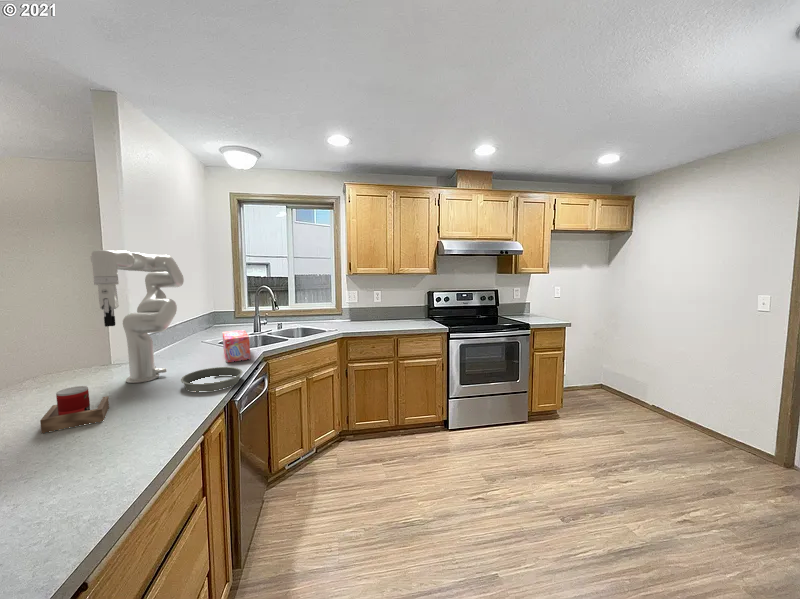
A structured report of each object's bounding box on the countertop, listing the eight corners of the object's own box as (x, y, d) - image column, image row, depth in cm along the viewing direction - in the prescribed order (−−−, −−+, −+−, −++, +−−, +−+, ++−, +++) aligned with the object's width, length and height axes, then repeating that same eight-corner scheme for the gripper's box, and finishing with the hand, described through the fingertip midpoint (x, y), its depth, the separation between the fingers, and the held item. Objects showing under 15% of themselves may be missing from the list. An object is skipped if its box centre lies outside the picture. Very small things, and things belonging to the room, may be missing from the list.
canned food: (92, 419, 118) (89, 389, 117) (60, 428, 112) (57, 396, 111) (89, 413, 123) (86, 384, 122) (58, 421, 117) (54, 390, 116)
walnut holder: (109, 407, 128) (108, 396, 128) (103, 421, 117) (102, 409, 116) (54, 417, 120) (52, 405, 119) (41, 433, 108) (40, 420, 108)
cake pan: (236, 391, 145) (236, 381, 145) (171, 396, 139) (171, 386, 139) (247, 373, 169) (247, 365, 168) (192, 377, 163) (192, 368, 163)
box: (223, 352, 209) (222, 330, 207) (245, 349, 215) (244, 328, 214) (225, 363, 186) (224, 339, 184) (251, 360, 192) (249, 336, 191)
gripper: (115, 281, 132) (119, 327, 134) (120, 280, 144) (124, 322, 146) (90, 282, 128) (94, 329, 130) (97, 280, 140) (101, 324, 142)
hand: (110, 325), depth 138 cm, fingers closed
